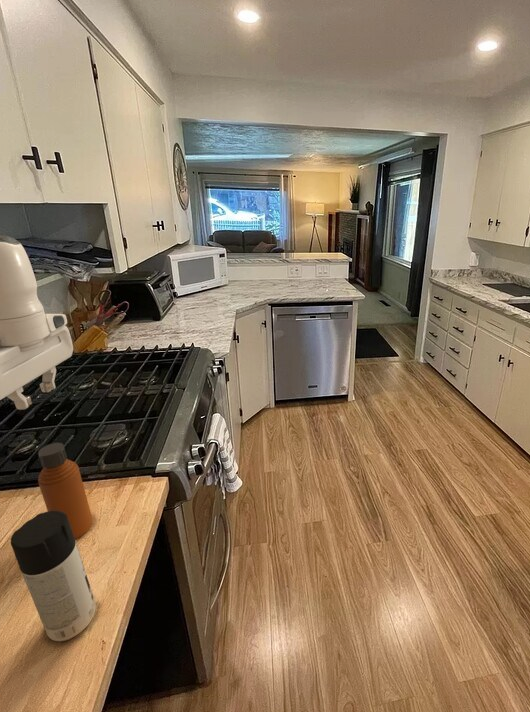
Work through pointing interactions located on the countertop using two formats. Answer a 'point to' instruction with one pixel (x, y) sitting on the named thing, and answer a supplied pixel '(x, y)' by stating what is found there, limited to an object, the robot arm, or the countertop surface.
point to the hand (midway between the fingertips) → (37, 398)
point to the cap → (52, 455)
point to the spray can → (54, 574)
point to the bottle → (66, 495)
